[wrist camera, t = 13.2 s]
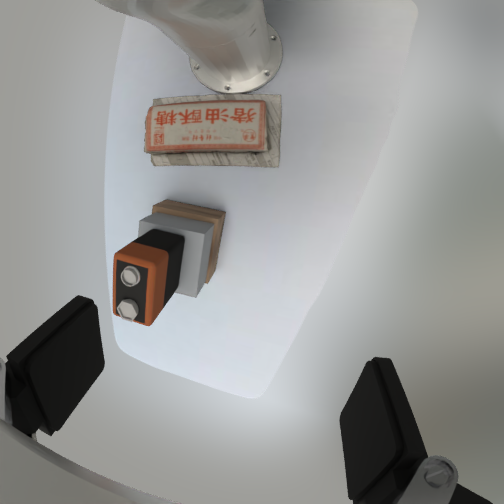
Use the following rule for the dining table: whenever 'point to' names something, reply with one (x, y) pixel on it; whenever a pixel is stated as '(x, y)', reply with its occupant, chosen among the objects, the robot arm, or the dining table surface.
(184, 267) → the top block
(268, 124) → the packaged product
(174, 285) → the battery
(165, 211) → the bottom block
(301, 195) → the dining table surface
